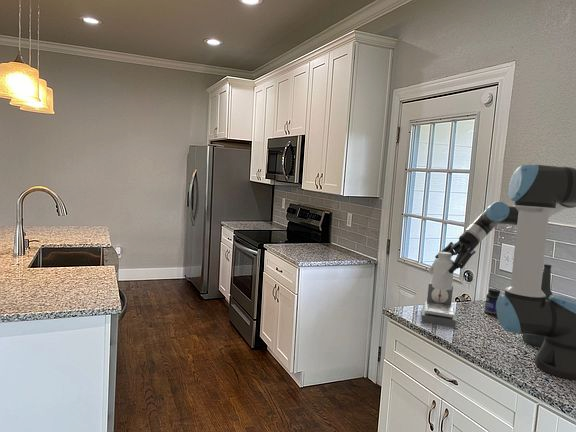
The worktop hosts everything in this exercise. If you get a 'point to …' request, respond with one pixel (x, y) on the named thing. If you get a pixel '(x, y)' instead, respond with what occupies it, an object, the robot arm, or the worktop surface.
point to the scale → (439, 298)
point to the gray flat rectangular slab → (439, 309)
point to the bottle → (546, 289)
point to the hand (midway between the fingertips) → (436, 274)
